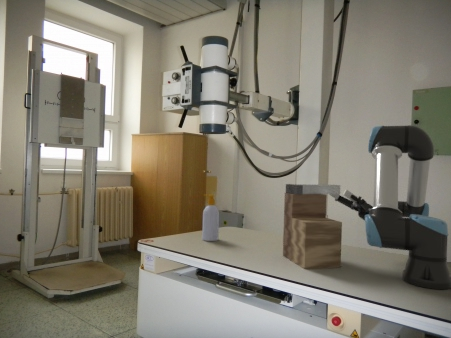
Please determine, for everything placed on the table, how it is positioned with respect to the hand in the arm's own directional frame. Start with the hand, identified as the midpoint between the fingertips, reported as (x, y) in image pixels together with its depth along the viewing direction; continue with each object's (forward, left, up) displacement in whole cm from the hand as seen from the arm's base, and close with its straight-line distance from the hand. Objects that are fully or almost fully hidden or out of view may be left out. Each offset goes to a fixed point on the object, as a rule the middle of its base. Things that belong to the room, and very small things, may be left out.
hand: (335, 190), depth 155 cm
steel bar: (0, +10, -1) cm, 10 cm away
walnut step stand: (-7, +16, -29) cm, 34 cm away
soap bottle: (+41, +49, -30) cm, 70 cm away
